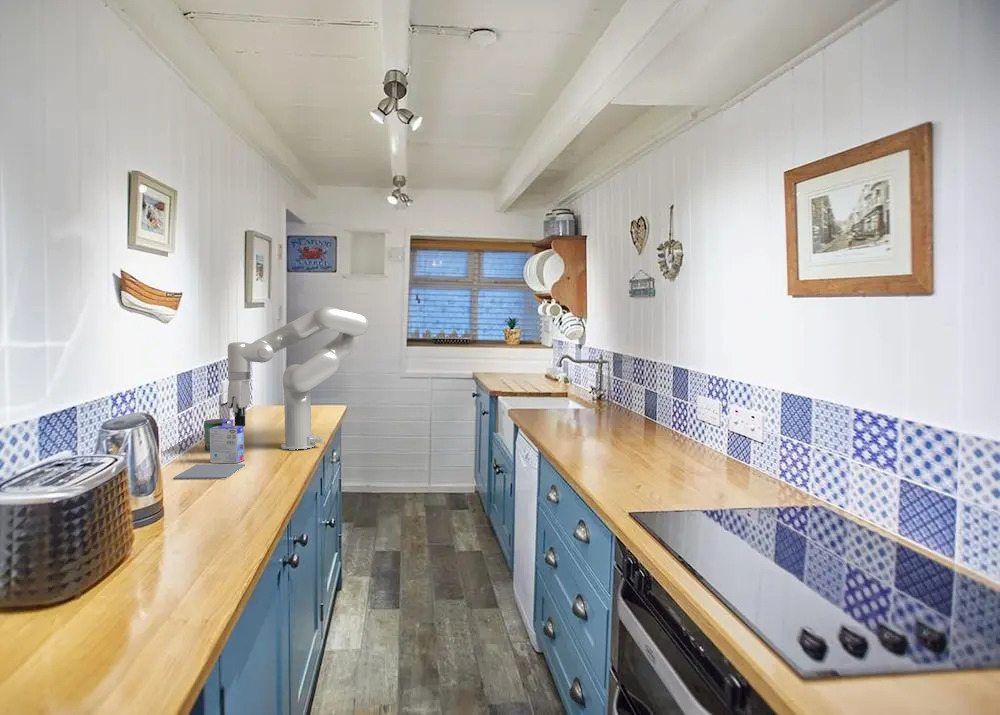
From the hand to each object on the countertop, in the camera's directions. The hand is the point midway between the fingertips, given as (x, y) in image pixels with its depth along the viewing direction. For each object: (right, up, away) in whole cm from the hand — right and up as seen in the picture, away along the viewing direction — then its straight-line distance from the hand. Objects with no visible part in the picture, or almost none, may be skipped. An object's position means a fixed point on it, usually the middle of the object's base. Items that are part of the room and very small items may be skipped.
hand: (240, 426), depth 224 cm
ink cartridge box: (+1, -11, -12) cm, 16 cm away
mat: (+2, -12, -26) cm, 29 cm away
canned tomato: (-11, -10, +5) cm, 16 cm away
